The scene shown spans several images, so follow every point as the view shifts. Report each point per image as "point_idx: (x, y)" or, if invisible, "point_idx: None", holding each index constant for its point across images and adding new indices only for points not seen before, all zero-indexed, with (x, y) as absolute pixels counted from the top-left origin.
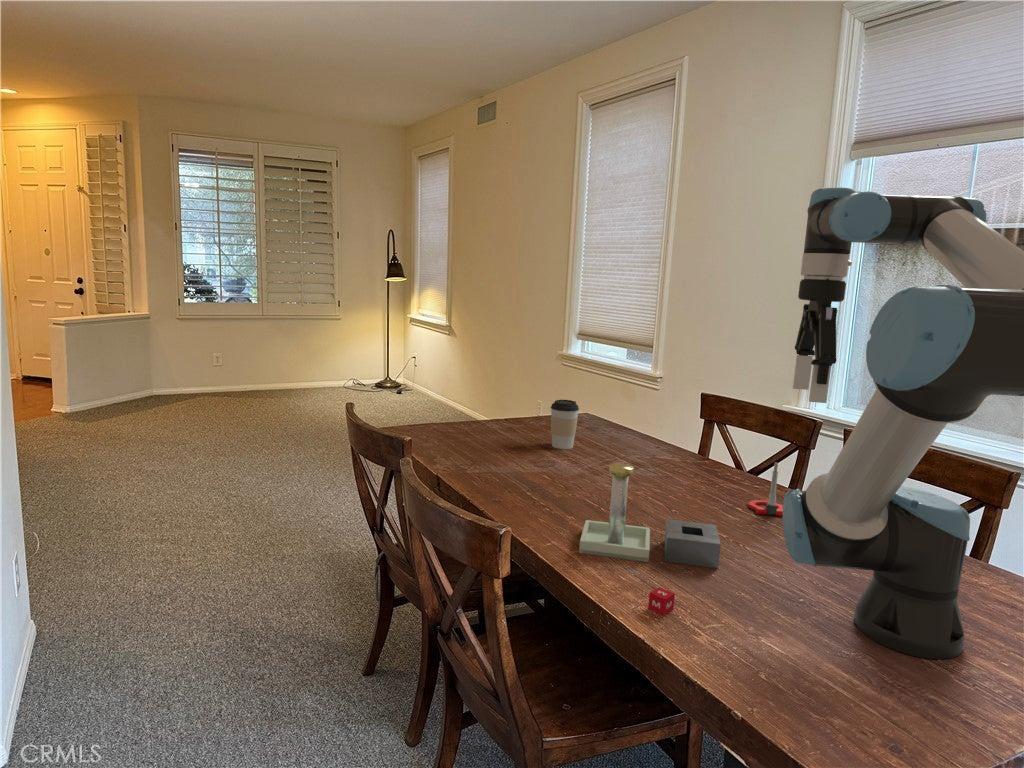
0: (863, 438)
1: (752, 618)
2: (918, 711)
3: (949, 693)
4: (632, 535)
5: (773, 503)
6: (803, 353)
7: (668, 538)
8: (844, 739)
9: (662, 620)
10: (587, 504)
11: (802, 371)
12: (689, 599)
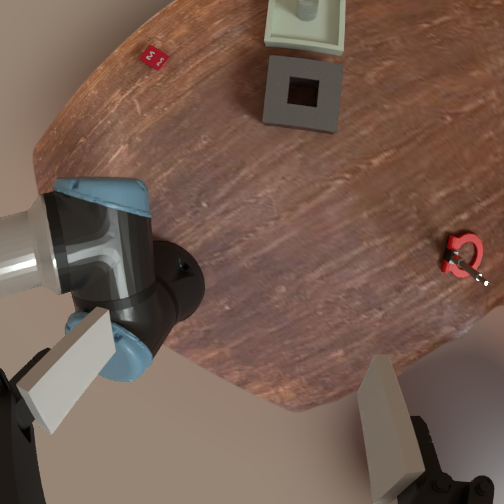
0: None
1: (155, 143)
2: None
3: None
4: (334, 34)
5: (452, 259)
6: (409, 495)
7: (269, 57)
8: (45, 180)
9: (138, 63)
10: (433, 13)
11: (378, 428)
12: (180, 85)
